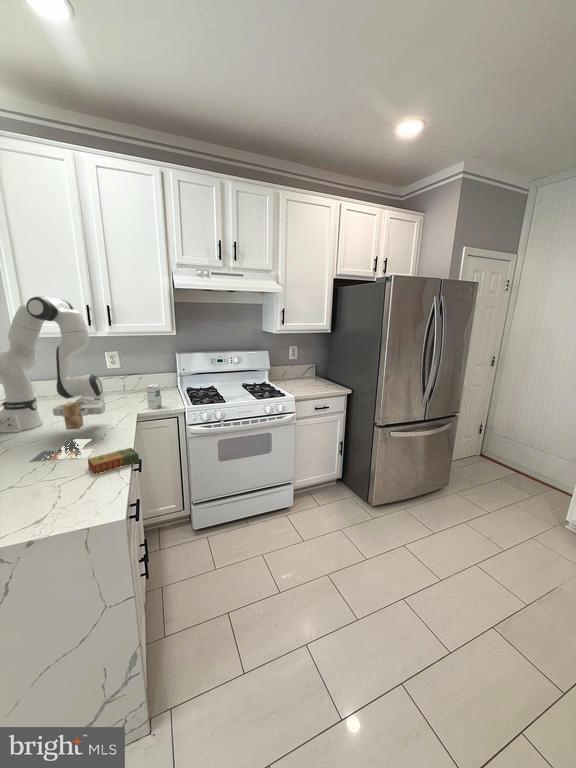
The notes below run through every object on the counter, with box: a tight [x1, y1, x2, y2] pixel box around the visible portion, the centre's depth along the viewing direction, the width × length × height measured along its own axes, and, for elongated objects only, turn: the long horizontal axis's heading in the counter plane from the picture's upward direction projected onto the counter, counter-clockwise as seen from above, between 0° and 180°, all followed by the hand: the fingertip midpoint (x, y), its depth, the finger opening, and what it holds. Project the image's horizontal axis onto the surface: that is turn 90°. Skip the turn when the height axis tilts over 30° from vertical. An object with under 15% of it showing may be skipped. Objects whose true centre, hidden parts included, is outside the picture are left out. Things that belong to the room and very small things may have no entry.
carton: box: [87, 447, 140, 475], centre depth 124 cm, size 8×16×4 cm, turn 134°
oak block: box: [62, 401, 84, 430], centre depth 140 cm, size 5×5×11 cm
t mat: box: [29, 438, 81, 463], centre depth 138 cm, size 21×23×1 cm
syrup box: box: [145, 383, 162, 410], centre depth 197 cm, size 6×6×14 cm
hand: (72, 414), depth 139 cm, fingers closed on oak block, 5 cm apart
